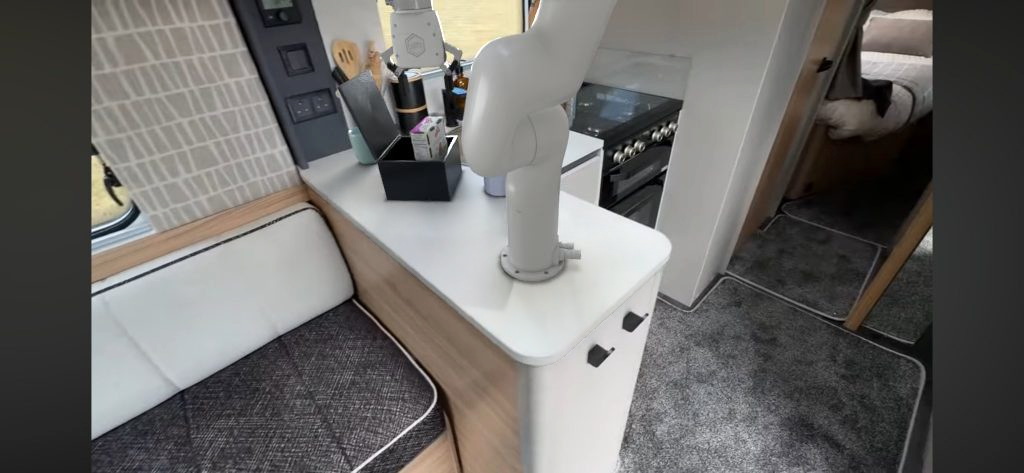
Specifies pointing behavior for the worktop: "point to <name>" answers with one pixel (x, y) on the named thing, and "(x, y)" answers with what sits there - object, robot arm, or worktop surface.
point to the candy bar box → (429, 139)
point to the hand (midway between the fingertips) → (428, 94)
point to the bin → (419, 172)
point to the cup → (360, 147)
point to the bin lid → (369, 112)
